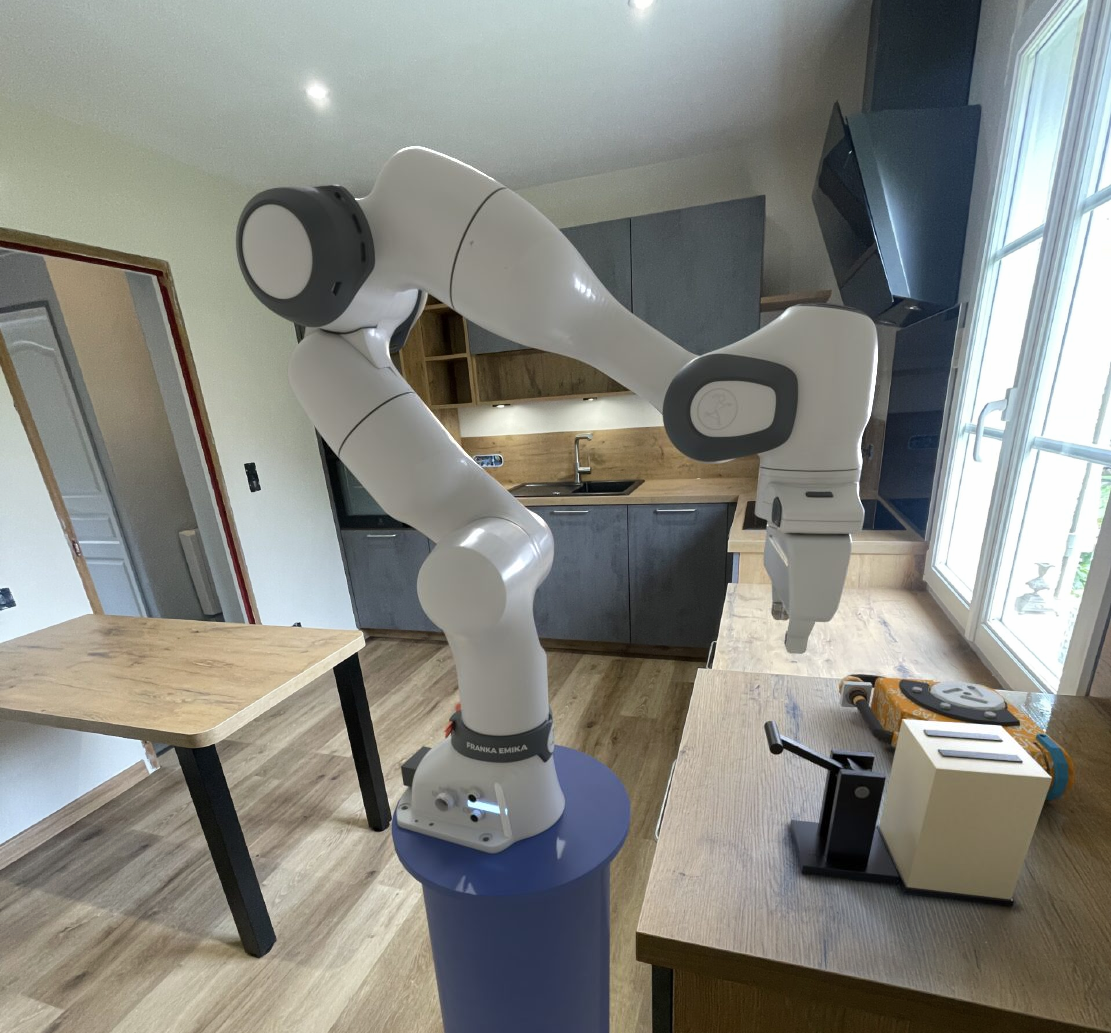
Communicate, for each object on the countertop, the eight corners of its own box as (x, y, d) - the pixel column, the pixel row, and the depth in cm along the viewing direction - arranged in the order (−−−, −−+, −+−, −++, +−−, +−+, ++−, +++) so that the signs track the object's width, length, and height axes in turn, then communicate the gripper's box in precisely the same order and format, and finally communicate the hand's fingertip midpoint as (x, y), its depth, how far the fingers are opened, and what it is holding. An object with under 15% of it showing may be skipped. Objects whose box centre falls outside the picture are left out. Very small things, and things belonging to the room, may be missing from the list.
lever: (764, 754, 63) (776, 738, 62) (759, 731, 68) (770, 715, 67) (866, 803, 63) (879, 787, 62) (853, 776, 67) (866, 761, 66)
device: (892, 746, 75) (835, 655, 102) (881, 799, 78) (828, 696, 105) (1094, 760, 71) (979, 661, 98) (1074, 815, 74) (967, 704, 101)
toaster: (904, 893, 63) (935, 768, 57) (875, 830, 72) (899, 716, 67) (1012, 907, 61) (1056, 778, 55) (968, 839, 70) (1002, 723, 64)
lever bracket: (801, 873, 66) (816, 779, 61) (790, 827, 73) (802, 740, 69) (897, 885, 64) (920, 789, 59) (875, 836, 71) (894, 747, 67)
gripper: (757, 484, 65) (745, 601, 70) (786, 516, 47) (767, 671, 52) (817, 484, 64) (800, 603, 69) (871, 517, 45) (843, 676, 51)
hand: (786, 633), depth 60 cm, fingers open, 8 cm apart
